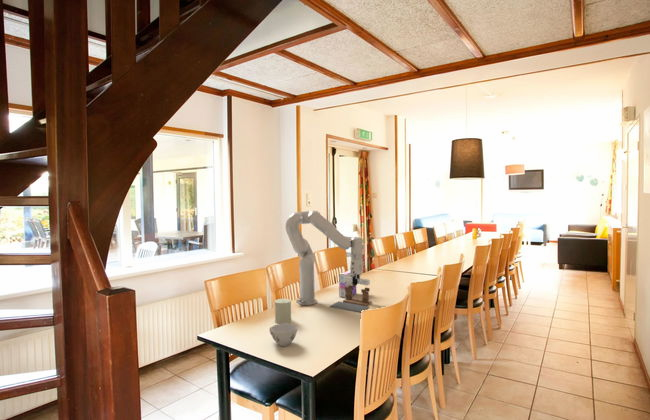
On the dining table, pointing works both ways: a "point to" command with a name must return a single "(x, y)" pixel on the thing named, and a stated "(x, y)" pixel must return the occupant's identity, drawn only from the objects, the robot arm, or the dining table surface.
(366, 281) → the steel rail
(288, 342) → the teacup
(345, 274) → the candy box
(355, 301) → the cradle rack
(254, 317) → the dining table surface
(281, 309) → the can
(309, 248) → the robot arm
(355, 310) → the rubber mat
